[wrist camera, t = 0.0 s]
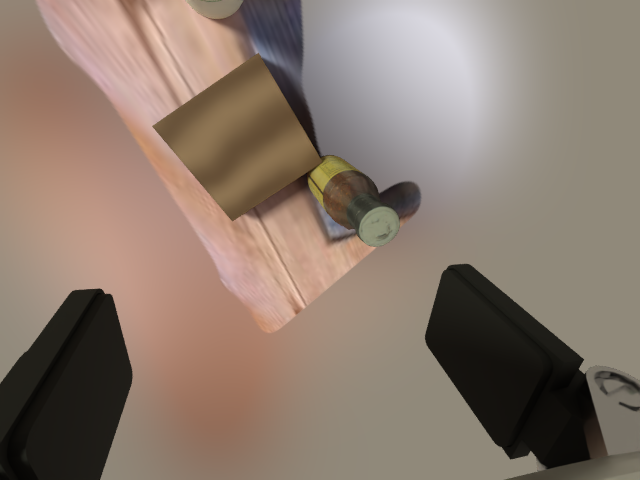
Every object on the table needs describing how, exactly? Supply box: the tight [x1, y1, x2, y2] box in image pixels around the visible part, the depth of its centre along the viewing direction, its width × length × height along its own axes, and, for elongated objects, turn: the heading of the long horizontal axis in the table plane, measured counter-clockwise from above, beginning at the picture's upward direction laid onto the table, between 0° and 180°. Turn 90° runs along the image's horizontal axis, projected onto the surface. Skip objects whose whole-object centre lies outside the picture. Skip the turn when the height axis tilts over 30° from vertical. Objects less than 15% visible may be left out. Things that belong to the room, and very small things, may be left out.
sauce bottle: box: [307, 155, 400, 247], centre depth 38 cm, size 7×6×20 cm
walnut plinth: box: [152, 53, 322, 221], centre depth 41 cm, size 14×14×4 cm
